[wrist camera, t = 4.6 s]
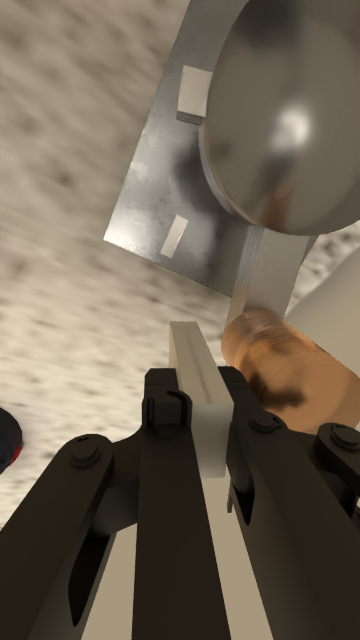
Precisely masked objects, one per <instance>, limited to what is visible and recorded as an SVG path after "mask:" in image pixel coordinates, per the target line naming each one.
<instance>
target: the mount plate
mask: <svg viewBox="0 0 360 640" xmlns="http://www.w3.org/2000/svg"><path fill="white" fill-rule="evenodd" d="M248 1H249V0H190V3H189V6H188V8H187V11H186V14H185V17H184V19H183V22H182V25H181V28H180V30H179V33H178V36H177V39H176V41H175V44H174V47H173V50H172V52H171V55H170V58H169V61H168V63H167V66H166V69H165V72H164V74H163V77H162V80H161V83H160V85H159V88H158V91H157V94H156V96H155V99H154V102H153V105H152V107H151V110H150V113H149V116H148V118H147V121H146V124H145V126H144V129H143V132H142V135H141V137H140V140H139V143H138V146H137V148H136V151H135V154H134V157H133V159H132V162H131V165H130V168H129V170H128V173H127V176H126V179H125V181H124V184H123V187H122V190H121V192H120V195H119V198H118V201H117V203H116V206H115V209H114V212H113V214H112V217H111V220H110V223H109V225H108V228H107V231H106V234H105V236H104V240H106V241H108V242H111V243H113V244H115V245H117V246H119V247H122V248H124V249H126V250H128V251H131V252H133V253H135V254H137V255H139V256H142V257H144V258H146V259H148V260H150V261H153V262H155V263H157V264H159V265H161V266H164V267H166V268H168V269H170V270H172V271H175V272H177V273H179V274H181V275H183V276H186V277H188V278H190V279H192V280H194V281H197V282H199V283H201V284H203V285H205V286H208V287H210V288H212V289H214V290H216V291H219V292H221V293H223V294H225V295H227V296H230V297H232V295H233V291H234V287H235V283H236V278H237V274H238V270H239V266H240V262H241V258H242V253H243V249H244V245H245V241H246V237H247V233H248V229H249V226H246V225H244V224H243V223H241V222H240V221H238V220H236V219H235V218H234V217H233V216H232V215H230V214H229V213H228V212H227V211H226V210H225V209H224V207H223V206H222V205H221V204H220V203H219V201H218V200H217V198H216V197H215V195H214V194H213V192H212V190H211V188H210V186H209V184H208V182H207V179H206V176H205V174H204V171H203V167H202V163H201V158H200V151H199V125H195V124H191V123H187V122H182V121H178V120H176V113H177V106H178V99H179V91H180V84H181V77H182V72H183V66H184V65H186V66H189V67H193V68H197V69H201V70H205V71H208V72H212V73H213V70H214V67H215V65H216V62H217V60H218V57H219V54H220V52H221V49H222V47H223V44H224V42H225V40H226V38H227V36H228V33H229V31H230V29H231V27H232V25H233V24H234V22H235V20H236V19H237V17H238V15H239V14H240V12H241V11H242V9H243V8H244V6H245V5H246V4H247V3H248ZM318 236H319V235H315V236H309V239H308V242H307V245H306V249H305V252H304V255H303V258H302V261H301V264H302V263H303V261H304V259H305V258H306V256H307V254H308V253H309V251H310V249H311V248H312V246H313V244H314V243H315V241H316V239H317V238H318ZM301 264H300V266H301Z"/></svg>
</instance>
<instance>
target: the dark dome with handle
mask: <svg viewBox="0 0 360 640" xmlns="http://www.w3.org/2000/svg"><path fill="white" fill-rule="evenodd" d="M176 120H178V121H182V122H187V123H191V124H195V125H199V151H200V158H201V163H202V167H203V171H204V174H205V176H206V179H207V182H208V184H209V186H210V188H211V190H212V192H213V194H214V195H215V197H216V198H217V200H218V201H219V203H220V204H221V205H222V206H223V207H224V209H225V210H226V211H227V212H228V213H229V214H230V215H232V216H233V217H234V218H235V219H236V220H238V221H240V222H241V223H243V224H244V225H246V226H249V229H248V233H247V237H246V241H245V245H244V249H243V253H242V258H241V262H240V266H239V270H238V274H237V278H236V283H235V287H234V291H233V295H232V299H231V303H230V308H229V312H228V316H227V320H226V324H225V328H224V333H223V337H222V342H221V350H222V354H223V357H224V359H225V361H226V363H227V365H228V366H233V367H235V368H236V369H237V370H239V371H240V372H241V373H242V374H243V375H244V377H245V379H246V380H247V382H248V384H249V385H250V388H251V389H252V390H253V392H254V394H255V395H256V397H257V398H258V400H259V402H260V403H261V405H262V407H263V408H264V410H266V411H269V412H272V413H273V414H275V415H277V416H278V417H280V418H281V419H282V420H283V421H284V422H285V423H286V425H287V426H288V428H289V429H290V430H294V431H298V432H303V433H309V434H314V435H317V432H318V429H319V426H321V425H322V424H324V423H332V422H334V423H339V424H344V425H346V426H349V427H351V428H355V427H356V425H357V424H358V423H359V421H360V378H359V377H358V376H357V375H356V374H355V373H353V372H352V371H351V370H349V369H348V368H347V367H346V366H344V365H343V364H341V363H340V362H339V361H338V360H336V359H335V358H334V357H333V356H331V355H330V354H329V353H327V352H326V351H325V350H323V349H322V348H321V347H319V346H318V345H317V344H316V343H314V342H313V341H312V340H310V339H309V338H308V337H306V336H305V335H304V334H302V333H301V332H300V331H299V330H297V329H296V328H294V327H293V326H292V325H291V324H289V323H288V322H287V321H285V320H284V315H285V312H286V309H287V306H288V303H289V300H290V296H291V293H292V290H293V287H294V284H295V280H296V277H297V274H298V271H299V268H300V264H301V261H302V258H303V255H304V252H305V249H306V245H307V242H308V239H309V236H315V235H321V234H327V233H330V232H333V231H337V230H340V229H342V228H344V227H347V226H349V225H351V224H353V223H355V222H356V221H358V220H360V0H249V1H248V3H247V4H246V5H245V6H244V8H243V9H242V11H241V12H240V14H239V15H238V17H237V19H236V20H235V22H234V24H233V25H232V27H231V29H230V31H229V33H228V36H227V38H226V40H225V42H224V44H223V47H222V49H221V52H220V54H219V57H218V60H217V62H216V65H215V67H214V70H213V73H212V72H208V71H205V70H201V69H197V68H193V67H189V66H186V65H184V66H183V72H182V77H181V84H180V91H179V99H178V106H177V113H176Z"/></svg>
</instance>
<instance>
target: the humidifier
mask: <svg viewBox="0 0 360 640" xmlns="http://www.w3.org/2000/svg"><path fill="white" fill-rule="evenodd" d="M21 442H22V431H21V429H20V426H19V424H18V422H17V421H16V420H15V419H14V418H13V417H12V415H11V414H10V413H8V412H7V411H5V410H3V409H2V408H0V474H2V473H3V472H4V470H5V469H6V468H7V467H8V466H10V465H11V464H12V463H13V462H14V461H15V460H16V458H17V457H18V455H19V454H20V451H21V449H22V446H20V444H21Z"/></svg>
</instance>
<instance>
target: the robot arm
mask: <svg viewBox="0 0 360 640" xmlns="http://www.w3.org/2000/svg"><path fill="white" fill-rule="evenodd" d="M226 464H227V467H228V470H229V473H230V477H231V480H230V488H229V495H228V502H227V510H228V513H231V511H232V505H233V504H234V508H235V511H236V515H237V518H238V522H239V525H240V528H241V532H242V535H243V539H244V542H245V545H246V548H247V552H248V555H249V559H250V562H251V565H252V569H253V572H254V575H255V579H256V582H257V586H258V589H259V592H260V596H261V599H262V602H263V606H264V609H265V612H266V616H267V619H268V623H269V626H270V629H271V633H272V636H273V639H274V640H360V508H359V507H358V506H357V502H358V500H359V497H360V432H359V431H357V430H355V429H354V428H351V427H349V426H346V425H344V424H339V423H334V422H332V423H324V424H322V425H321V426H319V429H318V432H317V435H314V434H309V433H303V432H298V431H294V430H290V429H289V428H288V426H287V425H286V423H285V422H284V421H283V420H282V419H281V418H280V417H278V416H277V415H275V414H273V413H272V412H269V411H266V410H264V408H263V407H262V405H261V403H260V402H259V400H258V398H257V397H256V395H255V394H254V392H253V390H252V389H251V388H250V385H249V384H248V382H247V380H246V379H245V377H244V375H243V374H242V373H241V372H240V371H239V370H237V369H236V368H235V367H233V366H218V367H217V366H216V363H215V361H214V359H213V357H212V355H211V353H210V350H209V348H208V346H207V344H206V342H205V340H204V337H203V335H202V333H201V331H200V329H199V327H198V325H197V322H170V341H169V368H151V369H150V370H149V371H148V372H147V374H146V375H145V386H144V399H143V401H142V425H141V427H140V429H139V430H138V431H137V432H136V433H135V434H133V435H131V436H130V437H128V438H126V439H123V440H120V441H117V442H114V443H112V442H111V441H110V440H109V439H108V438H107V437H105V436H102V435H99V434H85V435H82V436H78V437H75V438H74V439H72V440H70V441H68V442H67V443H66V444H65V445H64V446H63V447H62V448H61V449H60V450H59V451H58V452H57V454H56V455H55V456H54V458H53V459H52V460H51V462H50V463H49V465H48V466H47V467H46V469H45V470H44V472H43V473H42V474H41V476H40V477H39V478H38V480H37V481H36V483H35V484H34V485H33V487H32V488H31V490H30V491H29V492H28V494H27V495H26V496H25V498H24V499H23V501H22V502H21V503H20V505H19V506H18V508H17V509H16V510H15V512H14V513H13V514H12V516H11V517H10V519H9V520H8V521H7V523H6V524H5V526H4V527H3V528H2V530H1V531H0V640H81V638H82V634H83V631H84V629H85V626H86V623H87V620H88V617H89V614H90V611H91V608H92V605H93V602H94V599H95V596H96V593H97V590H98V587H99V584H100V581H101V579H102V575H103V573H104V570H105V567H106V564H107V561H108V558H109V555H110V552H111V549H112V546H113V543H114V540H115V537H116V534H117V531H120V530H122V529H124V528H127V527H129V526H131V525H133V524H135V523H137V540H136V559H135V579H134V599H133V600H134V601H133V619H132V620H133V621H132V639H131V640H231V636H230V630H229V625H228V620H227V614H226V609H225V604H224V599H223V594H222V588H221V583H220V578H219V573H218V567H217V562H216V557H215V551H214V546H213V541H212V536H211V530H210V525H209V520H208V514H207V509H206V504H205V498H204V493H203V488H202V483H201V479H203V478H218V477H225V471H226Z"/></svg>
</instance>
